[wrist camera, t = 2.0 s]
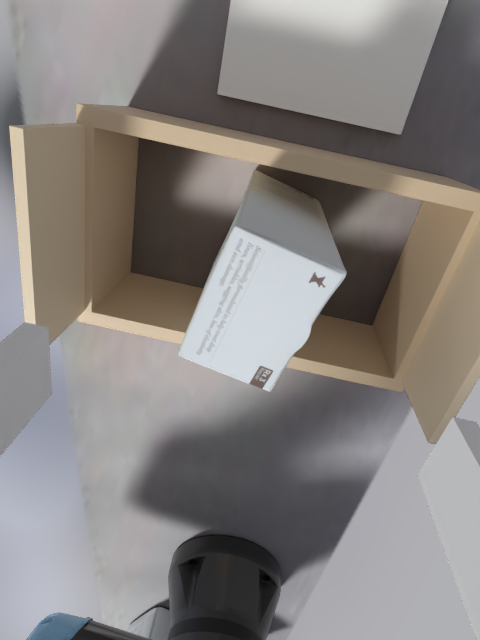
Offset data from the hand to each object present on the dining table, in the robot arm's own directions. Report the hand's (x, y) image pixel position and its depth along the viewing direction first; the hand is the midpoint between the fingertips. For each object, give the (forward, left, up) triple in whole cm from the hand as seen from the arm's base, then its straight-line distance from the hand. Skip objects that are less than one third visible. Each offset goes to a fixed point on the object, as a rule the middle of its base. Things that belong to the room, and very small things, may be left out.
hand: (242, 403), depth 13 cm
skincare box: (0, 0, -22) cm, 22 cm away
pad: (+14, -1, -22) cm, 26 cm away
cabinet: (0, 0, -22) cm, 22 cm away
